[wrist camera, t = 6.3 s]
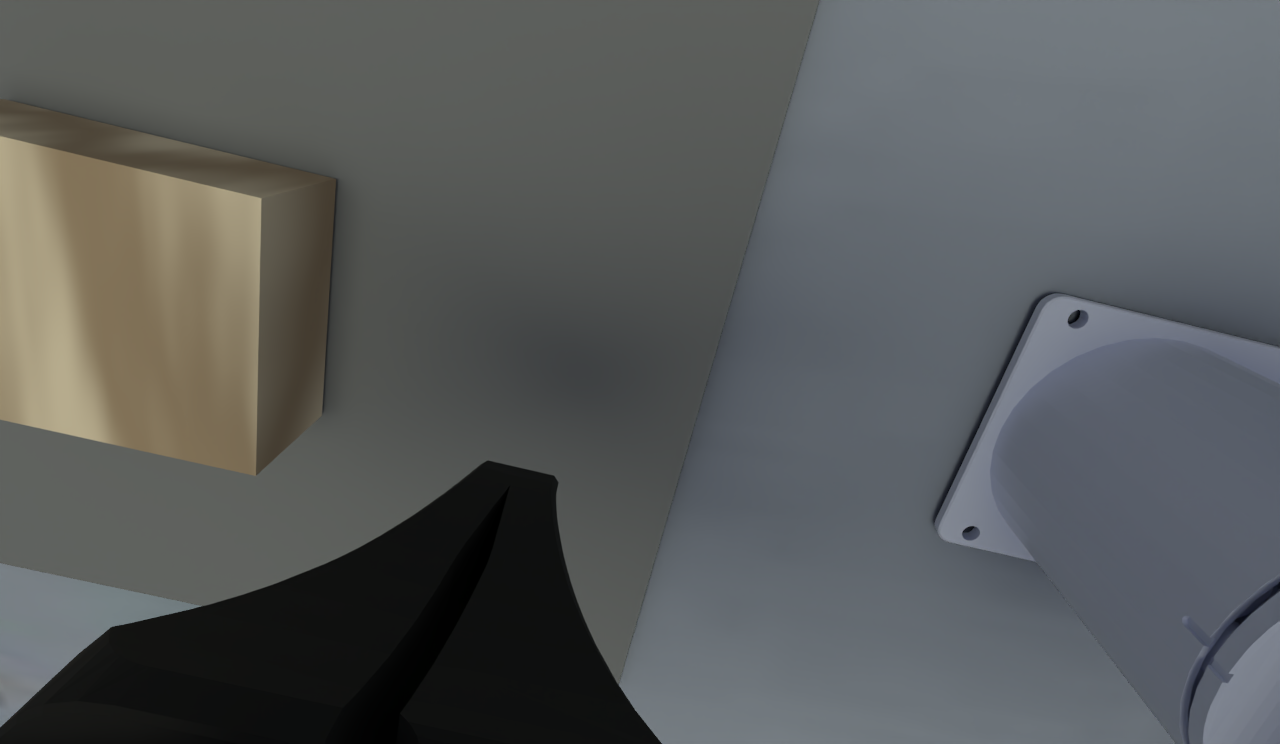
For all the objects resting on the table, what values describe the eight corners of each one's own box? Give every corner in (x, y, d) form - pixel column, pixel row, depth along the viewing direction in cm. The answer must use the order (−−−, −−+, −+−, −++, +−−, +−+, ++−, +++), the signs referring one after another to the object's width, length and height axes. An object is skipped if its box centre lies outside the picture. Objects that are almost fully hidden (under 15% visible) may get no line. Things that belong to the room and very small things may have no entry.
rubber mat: (841, -87, 16) (846, -91, 15) (616, 684, 25) (615, 693, 24) (-149, -350, 15) (-171, -361, 14) (-7, 552, 24) (-18, 559, 23)
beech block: (261, 198, 15) (-148, 101, 14) (256, 476, 17) (-90, 399, 17) (338, 178, 18) (8, 99, 18) (324, 413, 21) (37, 348, 20)
